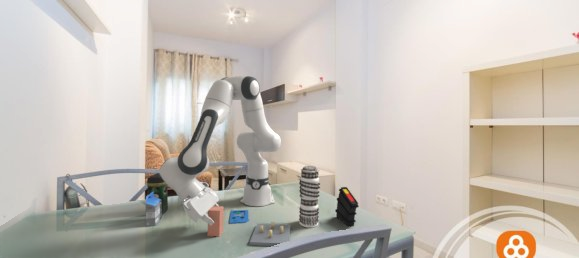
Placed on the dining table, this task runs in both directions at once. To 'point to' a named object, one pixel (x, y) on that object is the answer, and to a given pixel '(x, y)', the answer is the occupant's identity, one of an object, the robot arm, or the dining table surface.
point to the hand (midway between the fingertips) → (217, 218)
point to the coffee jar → (158, 189)
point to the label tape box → (153, 210)
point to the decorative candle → (309, 196)
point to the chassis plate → (270, 234)
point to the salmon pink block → (216, 221)
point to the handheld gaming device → (238, 216)
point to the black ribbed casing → (346, 206)
